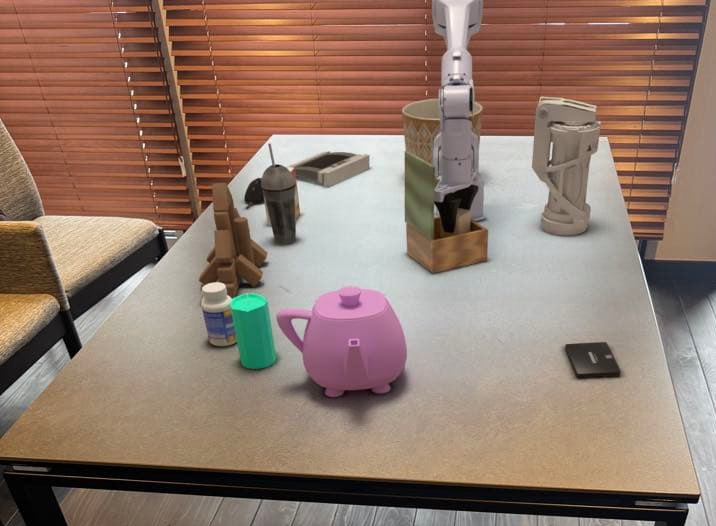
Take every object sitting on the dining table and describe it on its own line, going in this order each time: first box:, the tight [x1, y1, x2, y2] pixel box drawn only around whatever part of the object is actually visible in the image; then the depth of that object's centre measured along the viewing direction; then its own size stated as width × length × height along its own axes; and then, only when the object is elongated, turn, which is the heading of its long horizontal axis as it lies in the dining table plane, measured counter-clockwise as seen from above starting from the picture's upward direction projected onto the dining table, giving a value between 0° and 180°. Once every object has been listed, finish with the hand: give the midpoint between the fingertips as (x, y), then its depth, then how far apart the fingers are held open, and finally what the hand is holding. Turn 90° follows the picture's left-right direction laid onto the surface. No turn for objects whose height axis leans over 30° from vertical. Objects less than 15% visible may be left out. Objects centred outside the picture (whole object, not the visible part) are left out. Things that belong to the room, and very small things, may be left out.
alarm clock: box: [287, 151, 370, 188], centre depth 206 cm, size 17×5×16 cm
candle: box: [230, 292, 277, 370], centre depth 130 cm, size 6×6×12 cm
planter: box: [401, 97, 484, 188], centre depth 194 cm, size 19×19×16 cm
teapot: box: [275, 285, 408, 398], centre depth 122 cm, size 20×20×15 cm
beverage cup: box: [261, 143, 297, 246], centre depth 166 cm, size 7×7×20 cm
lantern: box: [531, 96, 602, 236], centre depth 165 cm, size 13×10×25 cm
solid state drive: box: [564, 341, 621, 379], centre depth 129 cm, size 7×10×1 cm
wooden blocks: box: [198, 182, 268, 302], centre depth 154 cm, size 25×12×18 cm, turn 2°
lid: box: [404, 150, 435, 240], centre depth 153 cm, size 13×12×1 cm
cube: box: [440, 208, 471, 237], centre depth 160 cm, size 4×4×4 cm
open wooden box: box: [405, 216, 489, 274], centre depth 161 cm, size 13×12×6 cm
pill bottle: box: [200, 281, 237, 347], centre depth 136 cm, size 5×5×10 cm
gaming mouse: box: [244, 177, 265, 210], centre depth 193 cm, size 6×15×4 cm, turn 165°
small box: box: [260, 166, 301, 226], centre depth 179 cm, size 8×6×10 cm
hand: (455, 227), depth 160 cm, fingers closed on cube, 4 cm apart
